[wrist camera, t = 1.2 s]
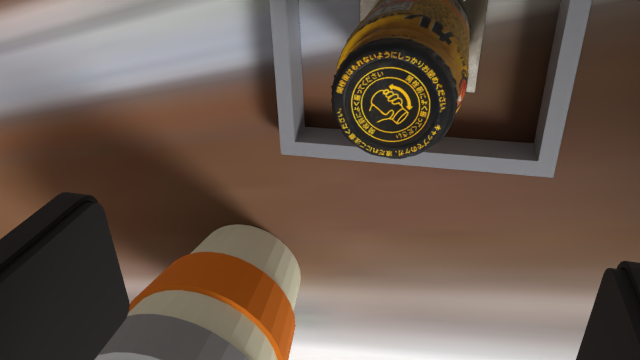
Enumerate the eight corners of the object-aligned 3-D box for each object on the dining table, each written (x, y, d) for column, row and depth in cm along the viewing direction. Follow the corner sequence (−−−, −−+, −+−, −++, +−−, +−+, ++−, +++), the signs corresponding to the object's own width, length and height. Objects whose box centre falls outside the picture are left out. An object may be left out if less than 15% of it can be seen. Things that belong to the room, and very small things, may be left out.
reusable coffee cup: (164, 204, 43) (37, 339, 30) (309, 206, 39) (233, 359, 27) (202, 318, 49) (108, 471, 36) (330, 328, 45) (277, 501, 32)
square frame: (547, 158, 33) (553, 177, 31) (291, 138, 37) (281, 154, 35) (614, -161, 24) (628, -166, 22) (273, -144, 28) (257, -146, 26)
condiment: (358, 82, 34) (310, 169, 23) (362, -61, 29) (306, -31, 19) (474, 91, 32) (476, 187, 22) (496, -60, 28) (511, -25, 18)
